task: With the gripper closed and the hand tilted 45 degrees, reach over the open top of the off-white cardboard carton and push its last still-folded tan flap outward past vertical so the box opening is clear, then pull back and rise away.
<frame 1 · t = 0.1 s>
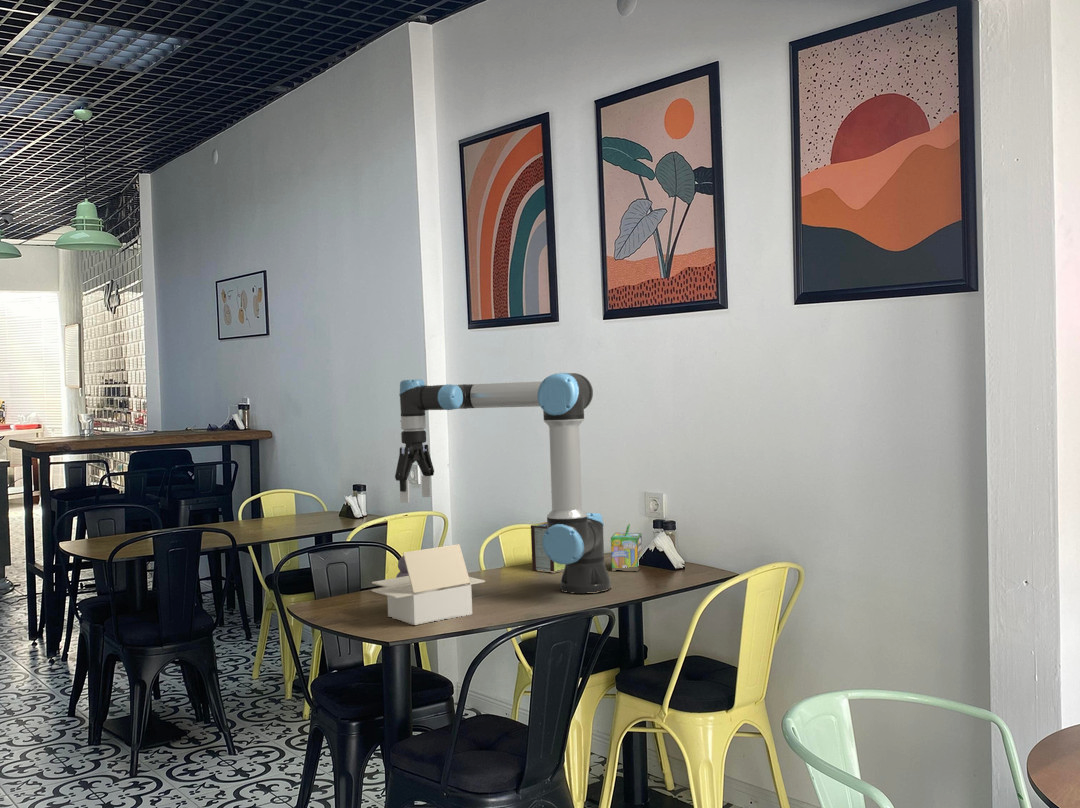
hand: (416, 499, 294), 28 cm above the table, tool pointing down, fingers open, 13 cm apart
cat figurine: (409, 594, 291), on the table
carton: (430, 615, 261), on the table
protein box: (558, 569, 324), on the table
chalk box: (627, 570, 319), on the table
flap: (437, 567, 258), point 14 cm above the table, hinge at 65.0°
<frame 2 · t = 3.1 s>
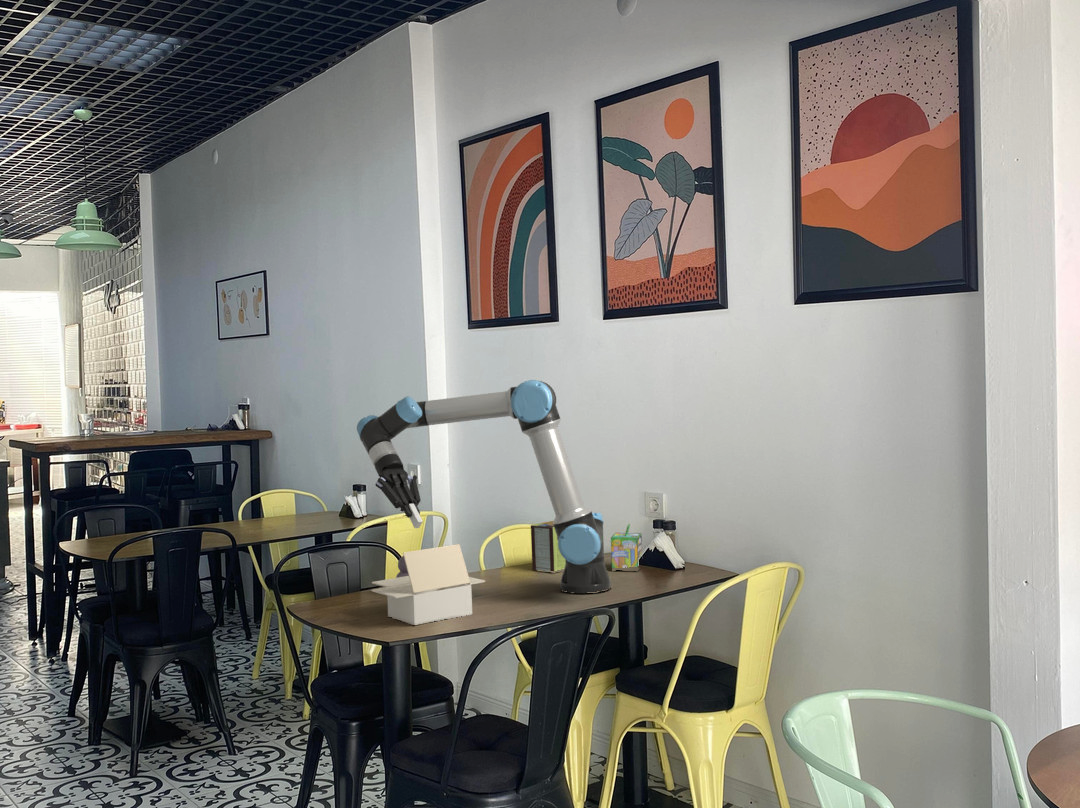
hand: (418, 524, 264), 24 cm above the table, tool tilted 45°, fingers closed
nothing on the table moved.
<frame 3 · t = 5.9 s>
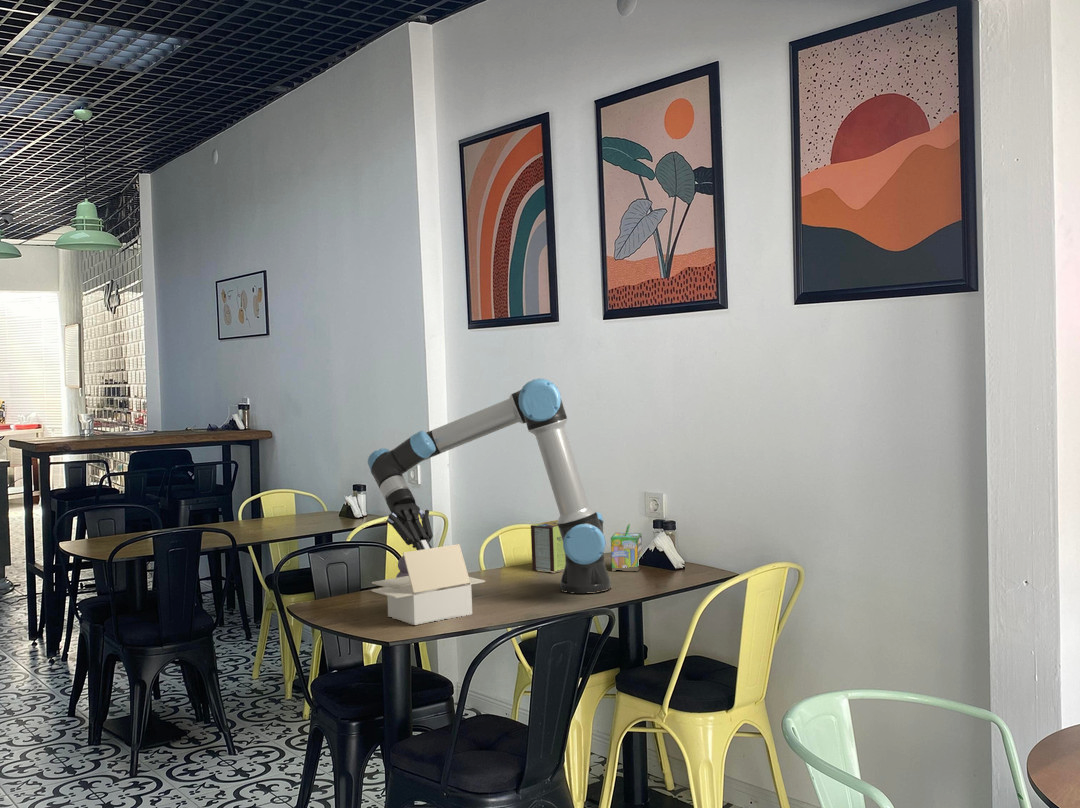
hand: (430, 562, 259), 15 cm above the table, tool tilted 45°, fingers closed
flap: (437, 567, 258), point 14 cm above the table, hinge at 65.1°, touching gripper
everything else where it was.
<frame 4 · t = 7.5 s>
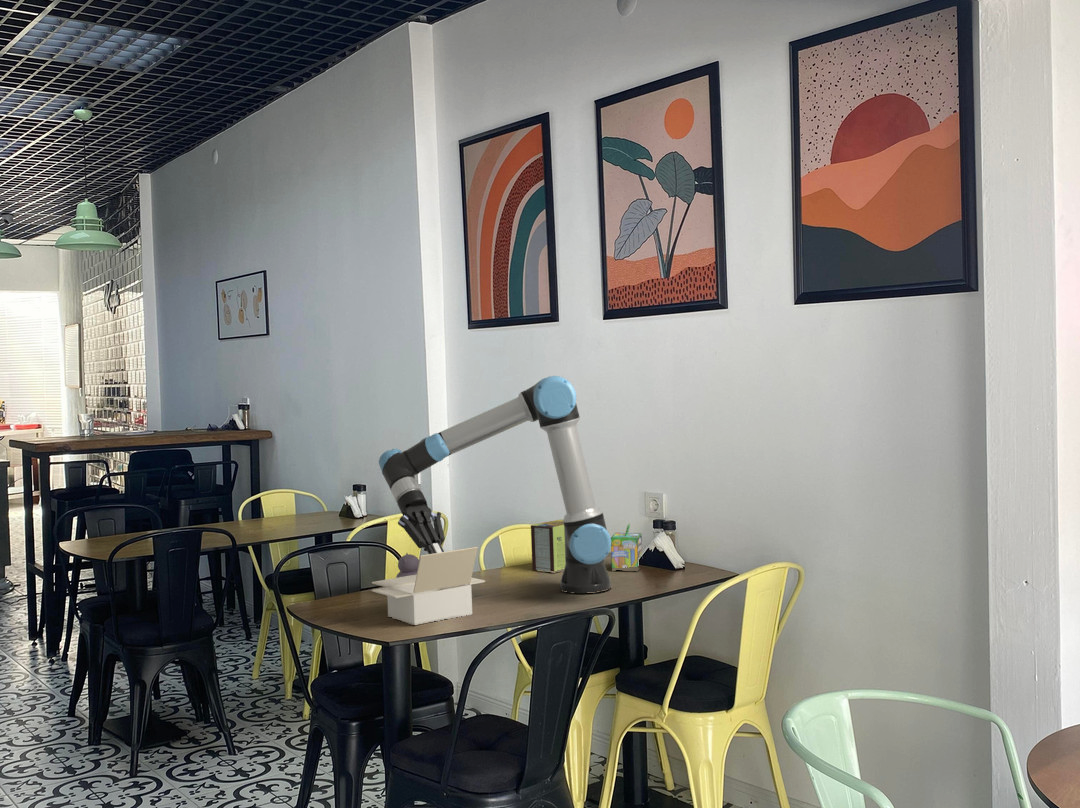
hand: (442, 565, 254), 15 cm above the table, tool tilted 45°, fingers closed
flap: (446, 569, 254), point 14 cm above the table, hinge at 113.1°, touching gripper
everything else where it was.
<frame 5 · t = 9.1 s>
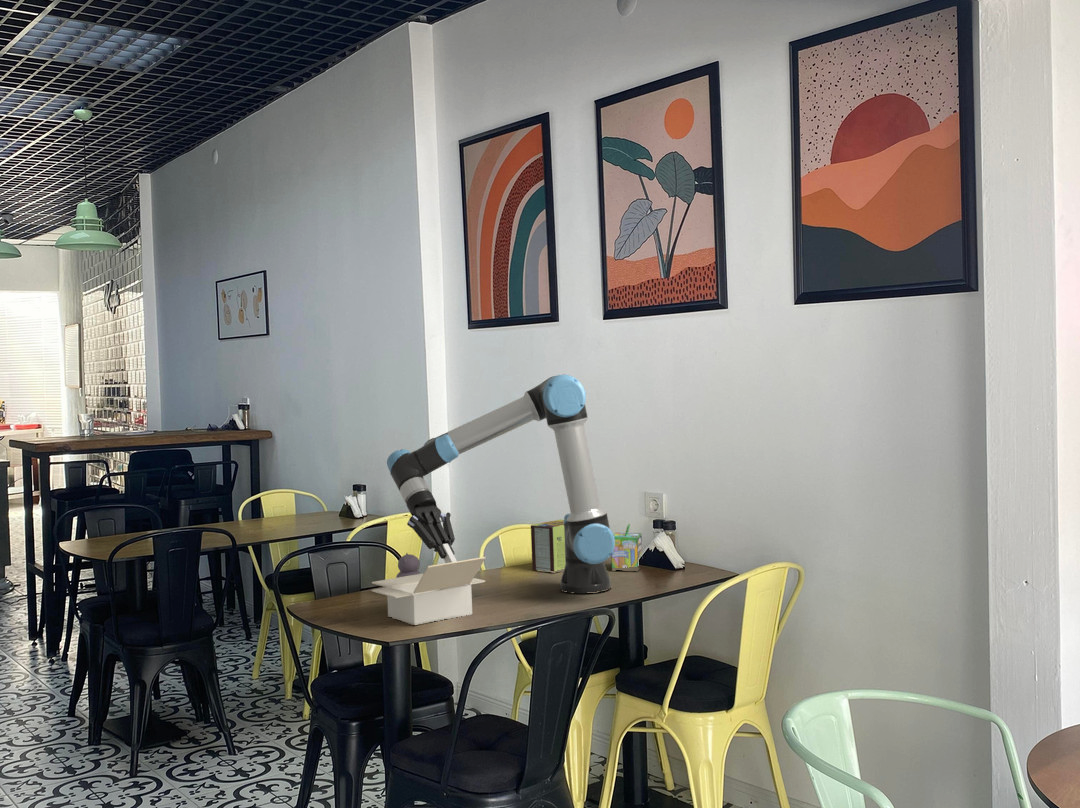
hand: (453, 566, 251), 15 cm above the table, tool tilted 45°, fingers closed
flap: (449, 575, 253), point 12 cm above the table, hinge at 135.0°, touching gripper
everything else where it was.
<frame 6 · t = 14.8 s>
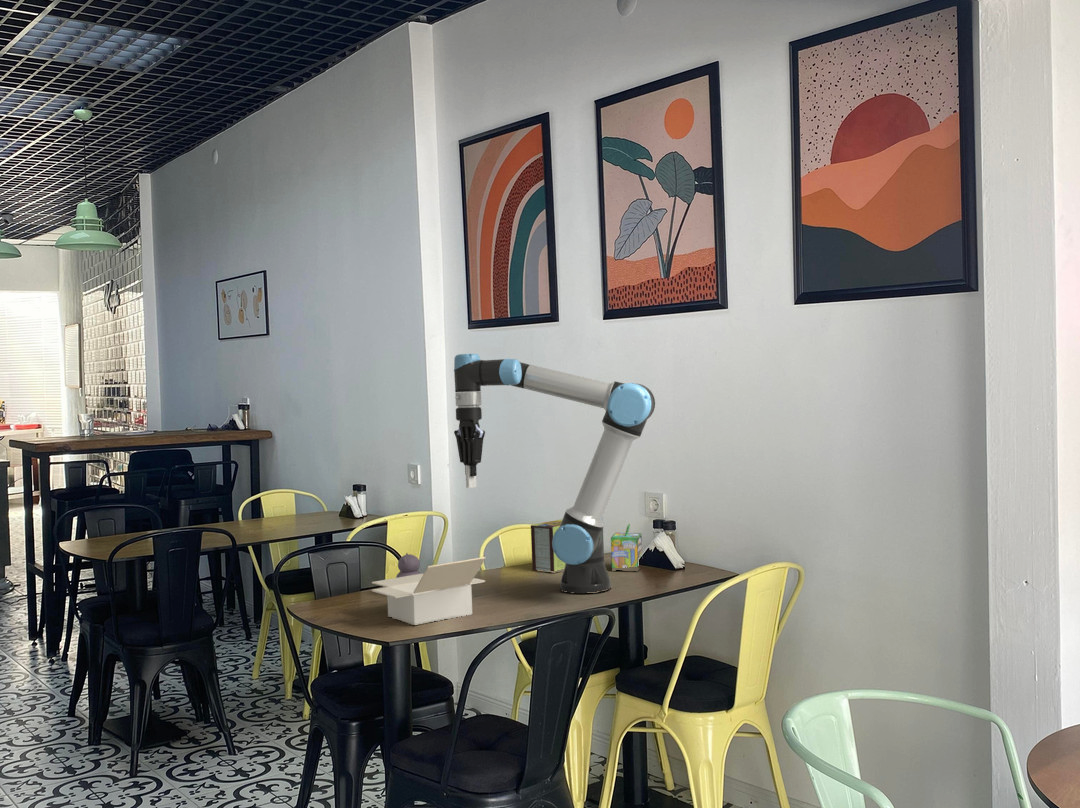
hand: (471, 487, 282), 32 cm above the table, tool pointing down, fingers closed
flap: (449, 575, 253), point 12 cm above the table, hinge at 135.2°
everything else where it was.
at the end: flap at +135° (first picture: +65°) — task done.
